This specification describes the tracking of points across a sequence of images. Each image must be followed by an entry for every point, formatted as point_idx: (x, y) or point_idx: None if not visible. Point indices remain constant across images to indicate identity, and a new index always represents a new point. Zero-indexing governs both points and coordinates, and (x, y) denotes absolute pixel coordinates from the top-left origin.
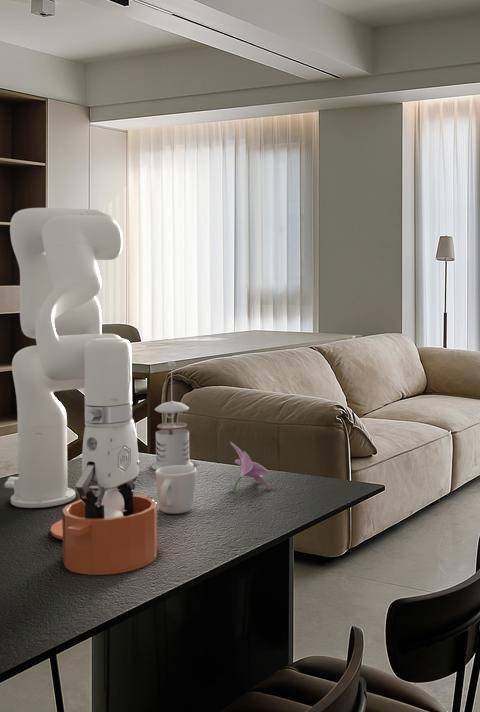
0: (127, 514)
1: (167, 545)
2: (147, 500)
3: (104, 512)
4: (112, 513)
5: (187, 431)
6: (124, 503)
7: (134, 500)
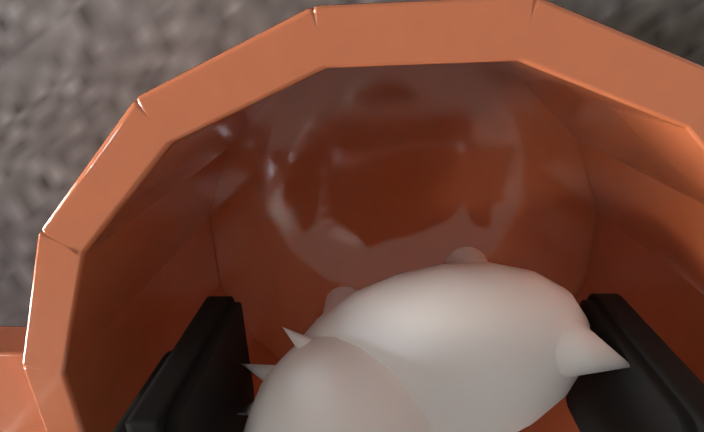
0: (241, 324)
1: (129, 93)
2: (89, 254)
3: (516, 405)
4: (496, 347)
5: None
6: (222, 398)
7: (93, 381)
